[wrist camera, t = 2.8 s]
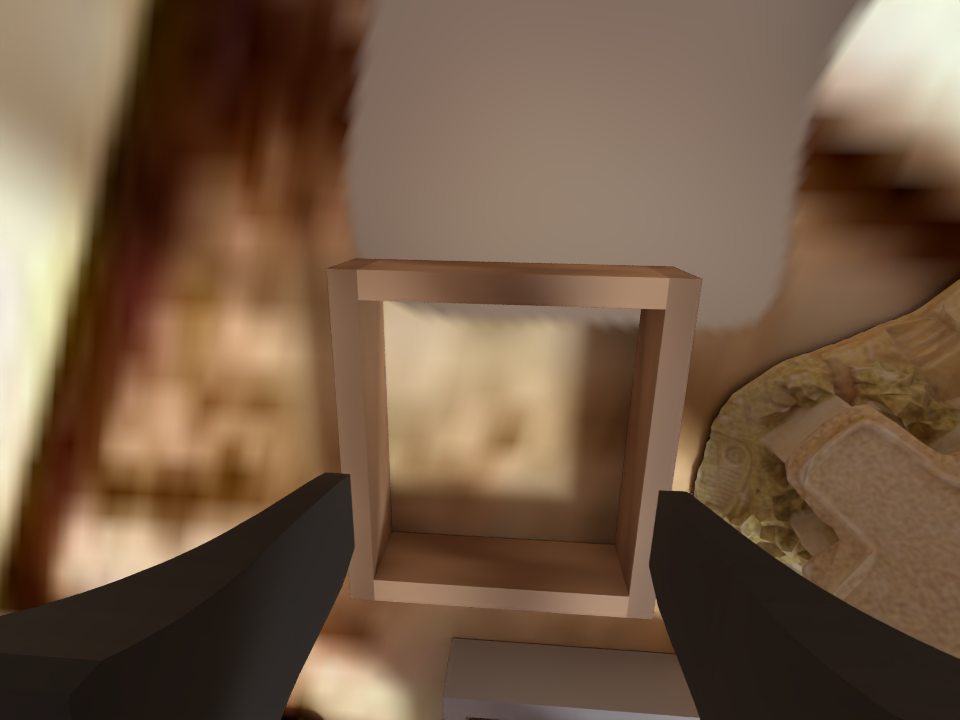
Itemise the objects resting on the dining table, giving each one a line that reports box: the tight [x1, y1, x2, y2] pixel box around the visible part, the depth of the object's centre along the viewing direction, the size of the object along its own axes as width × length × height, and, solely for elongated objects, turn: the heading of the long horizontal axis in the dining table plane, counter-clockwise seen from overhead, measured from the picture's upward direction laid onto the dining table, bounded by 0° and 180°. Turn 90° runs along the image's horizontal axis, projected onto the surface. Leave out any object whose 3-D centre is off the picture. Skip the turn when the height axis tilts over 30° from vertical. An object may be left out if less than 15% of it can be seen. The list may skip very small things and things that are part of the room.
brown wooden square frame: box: [327, 259, 702, 619], centre depth 16 cm, size 10×11×2 cm
